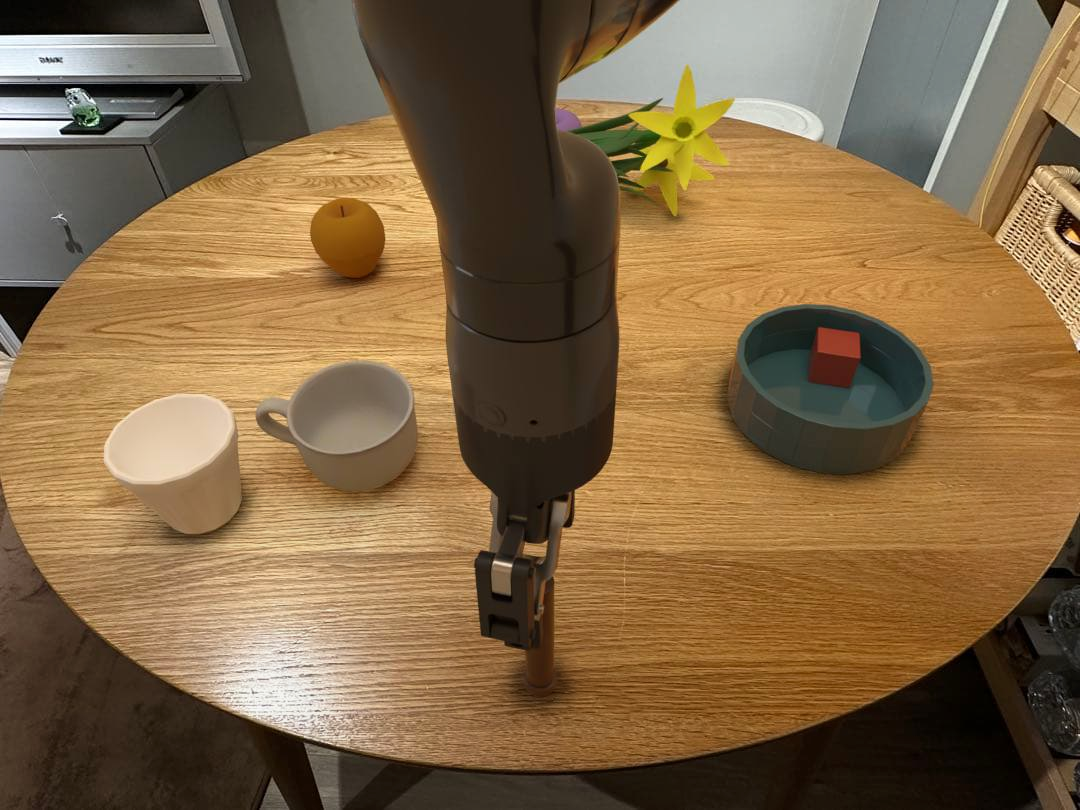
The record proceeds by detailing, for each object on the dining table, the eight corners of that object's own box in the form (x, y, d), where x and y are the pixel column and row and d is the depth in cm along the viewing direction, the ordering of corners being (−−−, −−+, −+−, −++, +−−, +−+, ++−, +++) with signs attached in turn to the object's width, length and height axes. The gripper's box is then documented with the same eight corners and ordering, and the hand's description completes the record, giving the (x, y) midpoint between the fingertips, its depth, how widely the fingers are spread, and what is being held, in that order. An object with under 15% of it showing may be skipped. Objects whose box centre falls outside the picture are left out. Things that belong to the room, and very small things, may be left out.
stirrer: (560, 669, 56) (561, 568, 47) (552, 700, 55) (552, 602, 46) (528, 662, 57) (523, 561, 48) (520, 693, 55) (513, 594, 46)
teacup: (440, 432, 74) (431, 369, 68) (398, 521, 66) (383, 458, 61) (307, 408, 76) (288, 346, 71) (252, 491, 69) (225, 428, 63)
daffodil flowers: (512, 159, 115) (753, 123, 102) (502, 248, 112) (751, 223, 98) (460, 88, 100) (734, 34, 87) (446, 188, 97) (730, 149, 83)
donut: (528, 157, 113) (525, 122, 110) (510, 143, 121) (507, 111, 118) (591, 146, 115) (590, 112, 113) (570, 133, 123) (568, 101, 120)
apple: (316, 257, 95) (299, 192, 89) (384, 245, 97) (372, 180, 91) (324, 296, 90) (307, 229, 83) (396, 282, 91) (385, 216, 85)
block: (848, 363, 79) (859, 332, 76) (849, 388, 76) (860, 358, 74) (808, 356, 80) (818, 326, 77) (808, 382, 77) (817, 351, 74)
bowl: (902, 362, 80) (922, 316, 76) (920, 490, 68) (944, 444, 64) (732, 339, 83) (742, 293, 79) (720, 457, 71) (731, 410, 67)
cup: (216, 449, 72) (183, 376, 66) (288, 496, 68) (261, 423, 62) (121, 519, 67) (75, 446, 60) (194, 575, 62) (153, 504, 56)
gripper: (585, 508, 29) (578, 704, 40) (639, 292, 39) (622, 497, 50) (398, 475, 30) (442, 673, 42) (496, 275, 40) (511, 478, 52)
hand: (540, 577), depth 46 cm, fingers open, 8 cm apart
